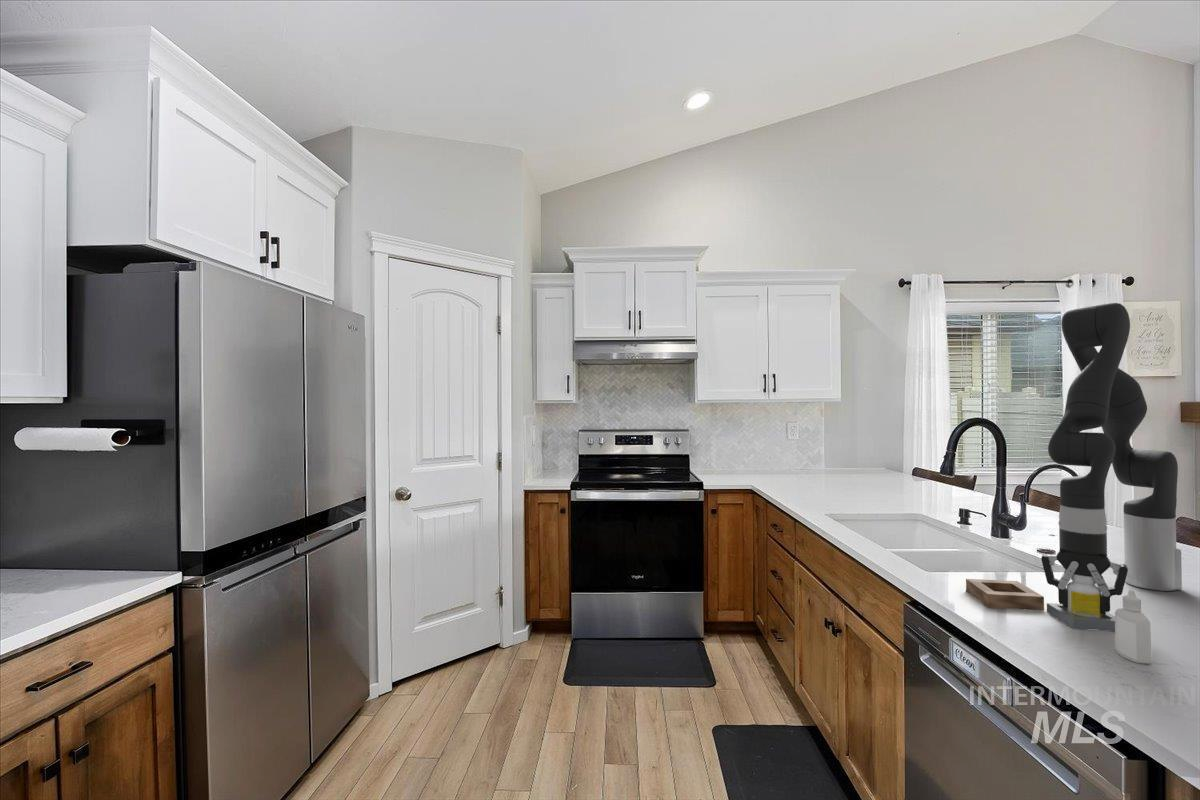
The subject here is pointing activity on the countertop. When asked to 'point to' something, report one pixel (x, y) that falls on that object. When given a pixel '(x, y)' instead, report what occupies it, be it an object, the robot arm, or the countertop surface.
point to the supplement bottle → (1083, 597)
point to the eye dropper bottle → (1132, 631)
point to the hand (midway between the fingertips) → (1083, 609)
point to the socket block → (1004, 594)
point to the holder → (1081, 619)
